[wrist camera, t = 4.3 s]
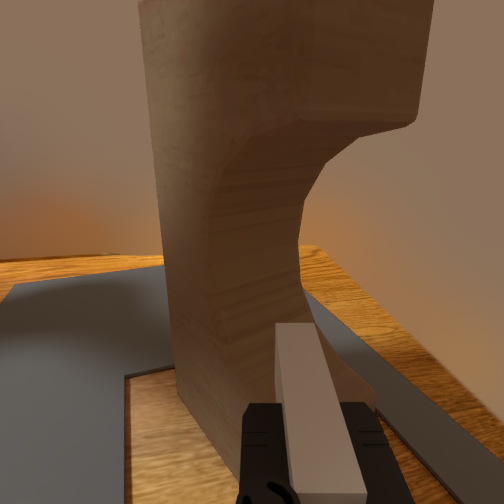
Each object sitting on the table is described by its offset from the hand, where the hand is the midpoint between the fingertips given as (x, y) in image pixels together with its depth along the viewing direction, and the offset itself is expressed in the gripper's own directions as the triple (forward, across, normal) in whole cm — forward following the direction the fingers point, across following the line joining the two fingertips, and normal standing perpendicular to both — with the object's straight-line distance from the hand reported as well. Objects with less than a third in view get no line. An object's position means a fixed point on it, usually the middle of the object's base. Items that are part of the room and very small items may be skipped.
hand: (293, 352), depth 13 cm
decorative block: (+9, -1, -14) cm, 17 cm away
